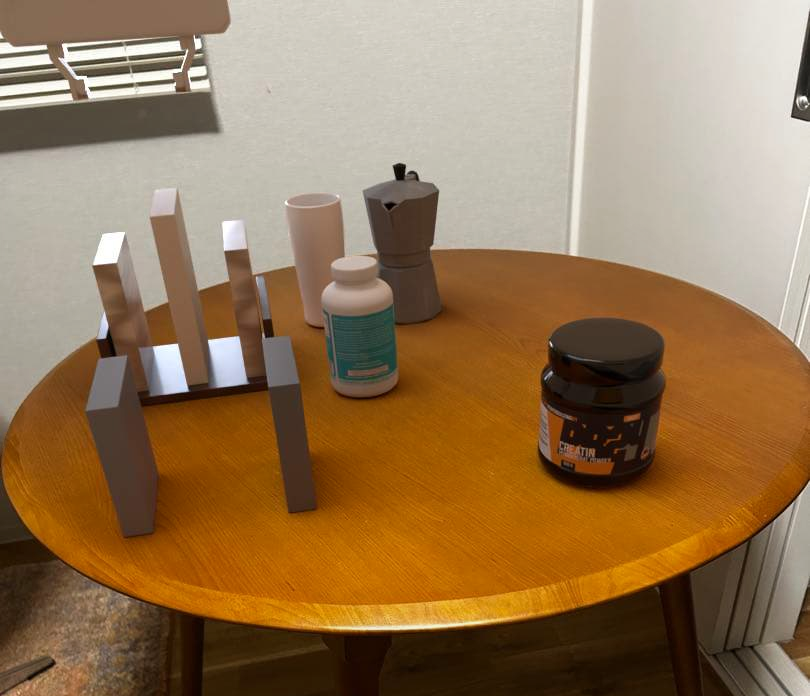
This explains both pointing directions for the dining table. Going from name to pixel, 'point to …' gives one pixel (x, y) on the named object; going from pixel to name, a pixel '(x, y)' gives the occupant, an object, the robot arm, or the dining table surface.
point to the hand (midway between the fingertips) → (133, 95)
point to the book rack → (161, 365)
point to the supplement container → (601, 401)
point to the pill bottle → (360, 329)
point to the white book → (180, 284)
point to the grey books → (132, 452)
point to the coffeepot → (405, 242)
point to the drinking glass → (315, 246)
